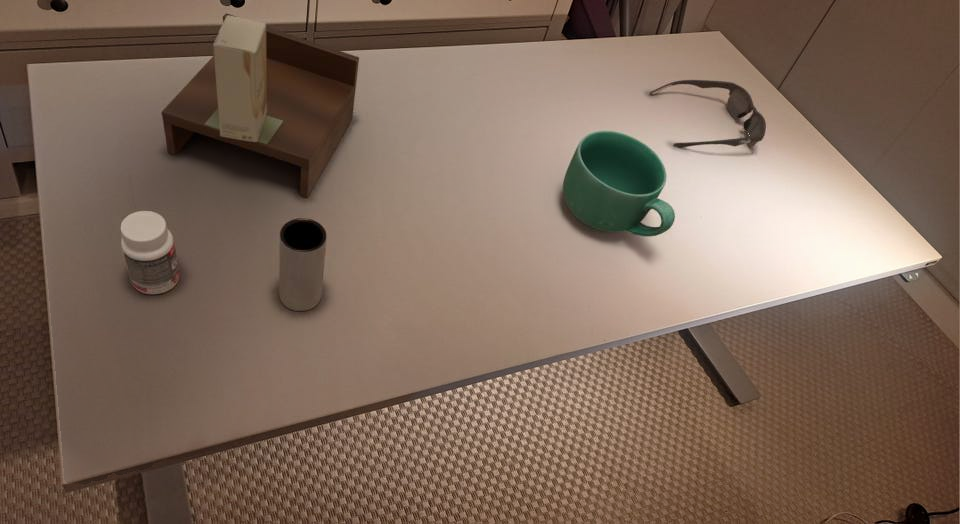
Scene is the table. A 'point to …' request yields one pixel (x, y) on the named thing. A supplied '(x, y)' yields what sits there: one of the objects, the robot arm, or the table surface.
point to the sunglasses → (737, 107)
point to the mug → (616, 184)
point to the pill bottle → (149, 252)
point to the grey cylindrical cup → (301, 263)
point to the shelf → (279, 105)
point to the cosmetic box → (241, 78)
